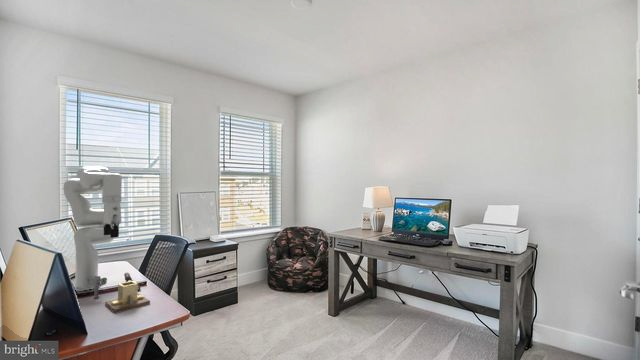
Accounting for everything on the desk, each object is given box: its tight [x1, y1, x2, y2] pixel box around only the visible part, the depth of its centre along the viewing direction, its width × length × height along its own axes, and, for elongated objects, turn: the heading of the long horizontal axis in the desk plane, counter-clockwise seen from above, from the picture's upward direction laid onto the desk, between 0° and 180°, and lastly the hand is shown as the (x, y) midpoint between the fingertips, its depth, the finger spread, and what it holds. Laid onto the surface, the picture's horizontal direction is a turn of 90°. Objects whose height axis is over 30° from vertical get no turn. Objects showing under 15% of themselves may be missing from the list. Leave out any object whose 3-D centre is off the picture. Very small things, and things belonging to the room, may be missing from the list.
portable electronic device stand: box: [123, 272, 141, 292], centre depth 162 cm, size 9×8×8 cm
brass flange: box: [111, 280, 144, 306], centre depth 143 cm, size 12×6×8 cm, turn 139°
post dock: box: [104, 293, 151, 314], centre depth 143 cm, size 13×14×8 cm
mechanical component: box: [86, 275, 108, 299], centre depth 151 cm, size 3×10×10 cm, turn 79°
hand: (111, 236), depth 148 cm, fingers open, 9 cm apart
